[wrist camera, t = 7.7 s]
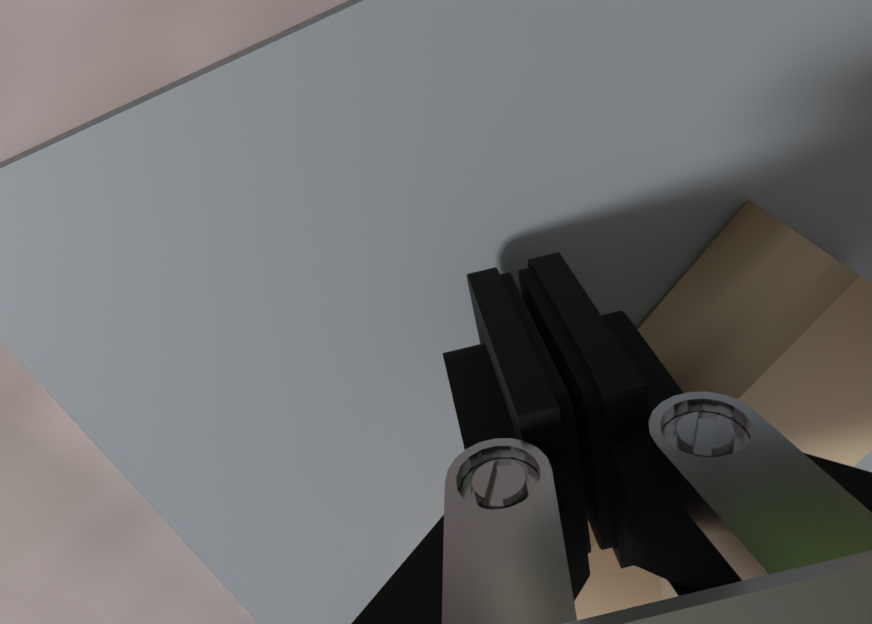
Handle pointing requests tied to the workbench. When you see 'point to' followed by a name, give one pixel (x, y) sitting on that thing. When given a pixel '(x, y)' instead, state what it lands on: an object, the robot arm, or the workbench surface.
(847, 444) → the oak leg
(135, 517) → the workbench surface
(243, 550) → the jig board
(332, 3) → the workbench surface
